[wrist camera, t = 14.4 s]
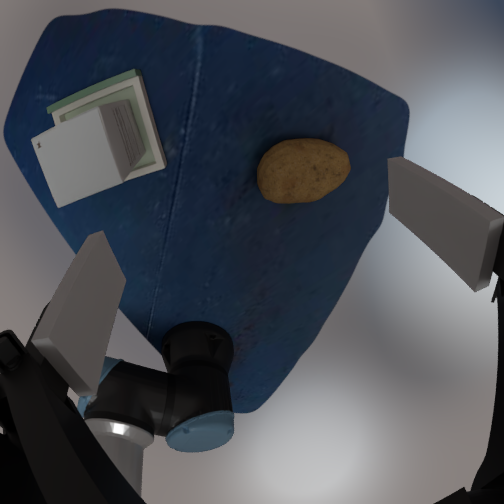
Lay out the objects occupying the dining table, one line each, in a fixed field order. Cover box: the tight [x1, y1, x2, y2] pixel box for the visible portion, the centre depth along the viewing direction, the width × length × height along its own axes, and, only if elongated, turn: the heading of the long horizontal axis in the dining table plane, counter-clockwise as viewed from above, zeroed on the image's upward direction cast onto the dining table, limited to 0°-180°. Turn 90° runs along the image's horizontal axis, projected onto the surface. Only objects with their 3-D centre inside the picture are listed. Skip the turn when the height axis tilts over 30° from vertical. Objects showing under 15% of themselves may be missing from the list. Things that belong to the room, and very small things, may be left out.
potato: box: [257, 138, 351, 203], centre depth 45 cm, size 10×14×8 cm
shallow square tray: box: [47, 69, 167, 181], centre depth 39 cm, size 15×14×4 cm
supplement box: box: [31, 99, 146, 208], centre depth 34 cm, size 9×9×15 cm
